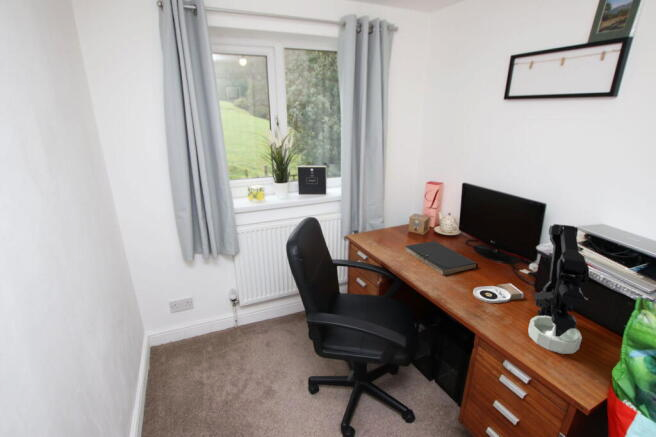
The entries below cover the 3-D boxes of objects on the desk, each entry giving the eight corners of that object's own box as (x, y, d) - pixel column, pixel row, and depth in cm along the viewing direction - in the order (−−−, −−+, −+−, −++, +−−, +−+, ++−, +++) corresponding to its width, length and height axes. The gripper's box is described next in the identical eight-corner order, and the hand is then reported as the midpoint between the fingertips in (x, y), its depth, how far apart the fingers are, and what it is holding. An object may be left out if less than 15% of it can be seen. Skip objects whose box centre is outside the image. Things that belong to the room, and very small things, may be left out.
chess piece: (554, 332, 116) (560, 309, 113) (564, 341, 112) (571, 317, 109) (541, 332, 116) (547, 309, 113) (551, 341, 112) (557, 318, 108)
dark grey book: (404, 245, 187) (436, 240, 196) (404, 251, 189) (435, 246, 197) (442, 269, 158) (478, 261, 167) (441, 276, 159) (477, 268, 168)
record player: (525, 295, 137) (483, 298, 135) (524, 301, 138) (482, 305, 136) (508, 281, 148) (468, 285, 146) (507, 287, 149) (467, 290, 147)
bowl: (527, 321, 124) (529, 311, 122) (573, 332, 117) (576, 322, 116) (530, 344, 111) (532, 334, 110) (582, 359, 105) (585, 348, 103)
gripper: (535, 274, 119) (527, 308, 124) (540, 298, 104) (531, 337, 109) (570, 280, 114) (561, 316, 119) (582, 307, 99) (570, 347, 104)
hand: (555, 328), depth 113 cm, fingers open, 9 cm apart
